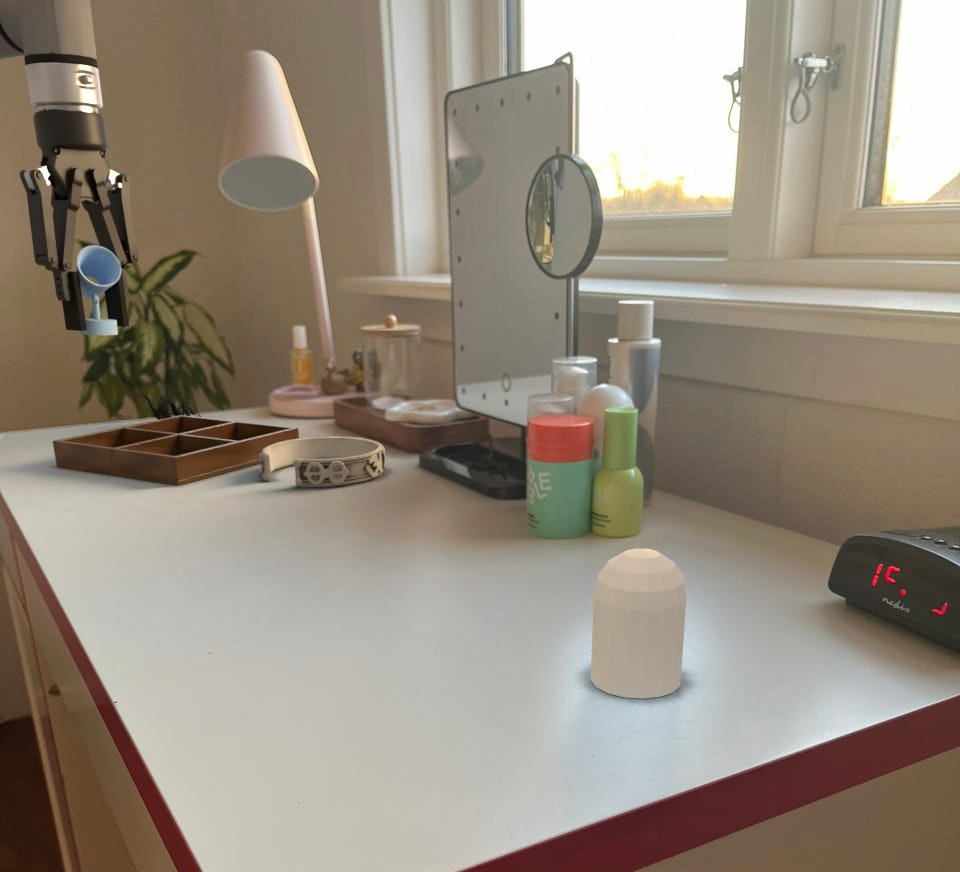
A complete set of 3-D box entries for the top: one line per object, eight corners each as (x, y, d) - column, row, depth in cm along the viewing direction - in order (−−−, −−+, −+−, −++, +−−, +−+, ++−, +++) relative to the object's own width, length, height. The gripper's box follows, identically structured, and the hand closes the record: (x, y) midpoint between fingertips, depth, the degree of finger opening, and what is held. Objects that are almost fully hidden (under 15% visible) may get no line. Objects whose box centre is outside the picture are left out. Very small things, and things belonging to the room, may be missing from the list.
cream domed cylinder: (625, 655, 64) (631, 532, 61) (698, 678, 61) (708, 549, 58) (572, 680, 61) (575, 551, 58) (646, 706, 57) (653, 570, 54)
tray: (56, 466, 119) (52, 440, 117) (183, 438, 134) (180, 415, 133) (178, 485, 109) (175, 457, 108) (300, 452, 125) (298, 427, 124)
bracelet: (395, 483, 109) (394, 455, 108) (264, 491, 106) (262, 462, 105) (375, 457, 121) (374, 432, 120) (258, 464, 118) (255, 438, 117)
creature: (180, 428, 148) (134, 423, 141) (182, 389, 147) (136, 383, 140) (217, 433, 143) (172, 429, 137) (220, 394, 142) (174, 388, 136)
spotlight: (128, 336, 122) (111, 332, 127) (122, 246, 118) (105, 246, 124) (85, 336, 119) (70, 332, 124) (77, 244, 116) (62, 244, 121)
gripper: (17, 101, 105) (53, 336, 114) (156, 116, 120) (178, 323, 128) (-29, 105, 108) (10, 333, 117) (111, 119, 123) (136, 320, 132)
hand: (98, 327), depth 123 cm, fingers closed on spotlight, 6 cm apart
